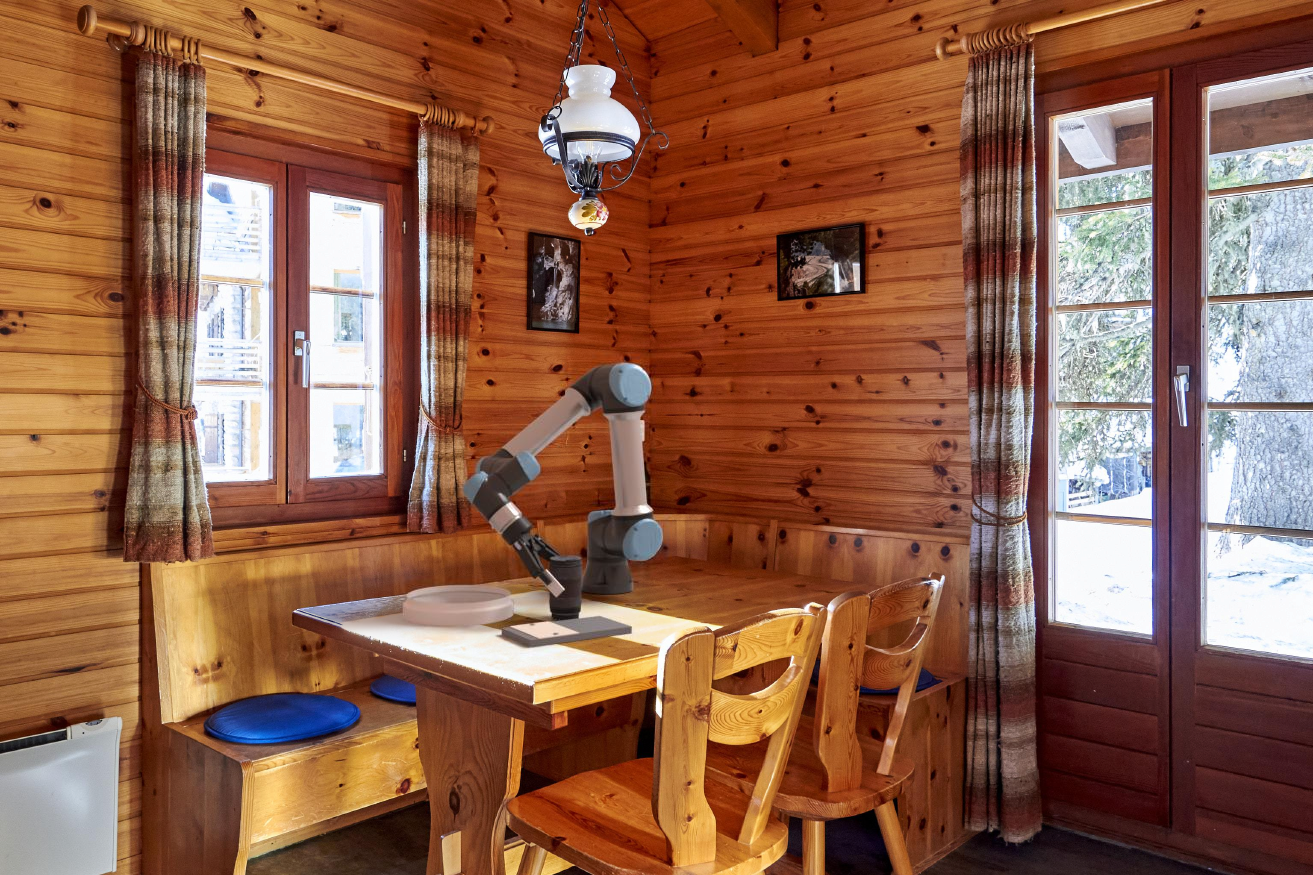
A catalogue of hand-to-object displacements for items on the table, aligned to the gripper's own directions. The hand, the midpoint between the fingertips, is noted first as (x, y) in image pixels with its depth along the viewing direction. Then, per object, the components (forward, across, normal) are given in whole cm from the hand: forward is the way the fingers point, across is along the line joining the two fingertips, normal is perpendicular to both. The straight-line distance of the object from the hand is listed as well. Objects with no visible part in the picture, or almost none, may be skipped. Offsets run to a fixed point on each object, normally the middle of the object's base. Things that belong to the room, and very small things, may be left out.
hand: (569, 588), depth 228 cm
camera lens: (+5, 0, -6) cm, 8 cm away
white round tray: (-14, +2, -25) cm, 29 cm away
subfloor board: (+8, +16, -2) cm, 18 cm away
